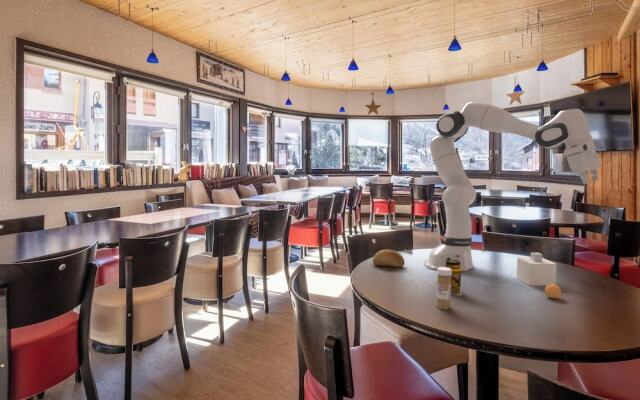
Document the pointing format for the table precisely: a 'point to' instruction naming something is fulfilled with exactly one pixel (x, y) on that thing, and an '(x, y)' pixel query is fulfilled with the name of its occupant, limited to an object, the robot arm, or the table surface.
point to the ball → (552, 291)
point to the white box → (536, 270)
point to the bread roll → (388, 258)
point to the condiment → (455, 276)
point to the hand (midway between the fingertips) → (591, 182)
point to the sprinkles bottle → (444, 287)
